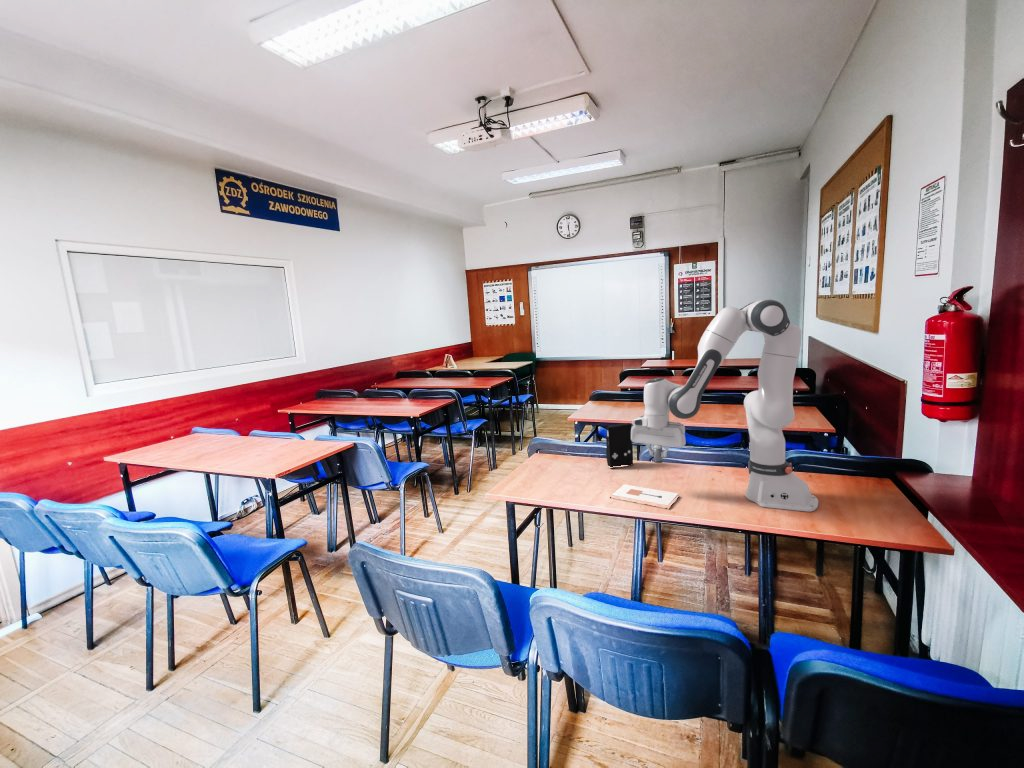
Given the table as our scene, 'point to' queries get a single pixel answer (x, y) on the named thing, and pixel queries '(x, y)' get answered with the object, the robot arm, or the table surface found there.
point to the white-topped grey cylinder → (657, 454)
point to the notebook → (645, 494)
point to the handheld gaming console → (619, 445)
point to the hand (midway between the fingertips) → (658, 455)
